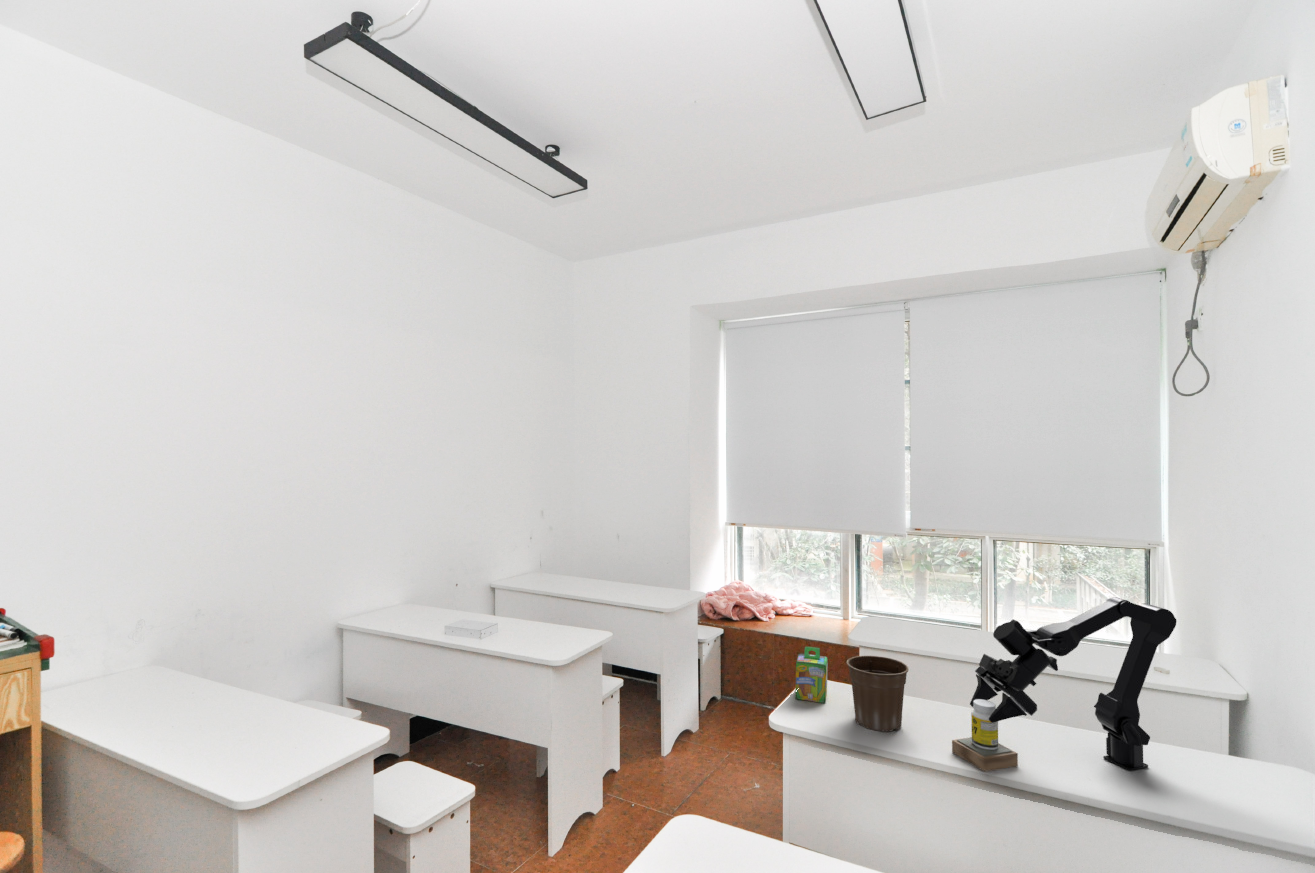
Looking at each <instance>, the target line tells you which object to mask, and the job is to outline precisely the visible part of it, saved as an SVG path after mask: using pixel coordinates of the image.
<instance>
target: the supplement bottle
mask: <svg viewBox="0 0 1315 873" xmlns="http://www.w3.org/2000/svg"><path fill="white" fill-rule="evenodd" d="M996 705H997V704H995V703H994V702H993V701H990V700H983V699H976V700H974V701H973V707H972V708H973V709H972V711H971V715H970V716H971V737H972V743H973V744H974V745H975V746H977V747H979V748H982V749H986V750H995V749H997V748H998V743H999V721H997V722H993V723H992V722H990V721H989V717H990V716H991V714H992V713H993V712H994V711H995V709H996V708H997V706H996Z"/></svg>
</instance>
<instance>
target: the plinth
mask: <svg viewBox="0 0 1315 873" xmlns="http://www.w3.org/2000/svg"><path fill="white" fill-rule="evenodd" d="M951 747H952V748H951V753H953V754H954V755H956V756H957V757H959V756H960V757H959V758H961V759H963V760H965V761H966V762H968V763H969V764H971V765H972V766H974V767H976V768H978V769H980V770H981V771H982V772H984V773H985V772H991V771H996V770H1001V769H1002V770H1003V769H1009V768H1015V767H1019V765H1018V764H1019V762H1018V761H1019V756H1018V753H1017V752H1016V751H1014V750H1012V749H1010V747H1007V746H1005V745H1003V744H1001V743H999V742H998V748H997V749H995V750H986V749H982V748H979V747H977V746H975V745H974V744H973V743H972V736H970V737H963V738H955V739H952V740H951ZM1008 767H1009V768H1008Z"/></svg>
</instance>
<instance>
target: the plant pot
mask: <svg viewBox="0 0 1315 873" xmlns="http://www.w3.org/2000/svg"><path fill="white" fill-rule="evenodd" d="M846 665H847V667H848V672H849V678H850V679H851V680H850V682H851V689H852V691H851V692H852V698H853V699H852V700H853V708H854V718H855V722H856V723H857V725H858V726H859V725H862V726H863V727H864V728H865V729H869V730H872V731H876V732H892V731H894V730H896V731H897V730H899V729H901V728H902V724H903V723H902V721H903V710H904V709H903V707H904V697H905V696H904V694H905V686H906V683H907V673H908V672H909V666H908V665H907V664H906V663H904V662H902V661H900V660H898V659H894V658H890V657H885V656H877V655H858V656H857V655H856V656H853V657H849V658H848V659H847V660H846Z"/></svg>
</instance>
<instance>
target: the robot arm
mask: <svg viewBox="0 0 1315 873" xmlns="http://www.w3.org/2000/svg"><path fill="white" fill-rule="evenodd" d="M1123 618H1130V621H1129V622H1130V628H1131V634H1132V638H1131V640H1130V644H1129V646H1128V648H1127V651H1126V653H1125V656H1124V658H1123V662H1122V665H1121V667H1120V670H1119V672H1118V676H1117V678H1116V680H1115V683H1114V686H1113V688H1112V690H1111V691H1109V692H1108V693H1107V694H1105V693H1103V692H1100V693H1099V694H1098V697H1097V698H1098V699H1097V701H1096V703H1095V704H1094V706H1093V708H1094V709H1095V712H1094V714H1095V715H1094V716H1095V717H1096V719H1097V721H1098V722H1099V723H1100V725H1101V726H1102V729H1103V730H1104V731H1106V732H1107V737H1106V738H1105V741H1106V742H1105V743H1106V746H1105V747H1106V749H1105V750H1106V751H1105V752H1106V755H1104V756H1102V757H1103V759H1104V760H1106V761H1108V762H1110V763H1113V764H1115V765H1116V766H1119V767H1120V768H1123V769H1126V771H1127V770H1128V771H1135V770H1141V769H1147V768H1149V764H1147V763H1145V762H1144V746H1148V745H1149V742H1150V740H1151V736H1150V735H1149V734H1148V733H1147V732H1146V731H1145V730H1144V728H1142V726H1140V725H1139V723H1140V718H1141V713H1140V708H1139V703H1138V701H1139V700H1138V699H1139V697H1140V695H1141V692H1142V689H1143V686H1144V683H1145V681H1146V678H1147V675H1148V673H1149V671H1150V667H1151V665H1152V662H1153V659H1154V657H1155V654H1156V650H1157V648H1159V647H1158V646H1159V645H1160V644H1162V643H1164V642H1165V641H1166V640H1167V639H1169V638H1170V637H1171V635H1172V634H1173V631H1174V630H1175V628H1176V626H1177V618H1176V617H1175V615H1174V613H1173V612H1172V611H1170V610H1169V609H1166V608H1164V607H1160V606H1157V605H1153V604H1148V603H1144V602H1143V603H1139V604H1136V603H1133V602H1131V601H1129V600H1126V599H1123V598H1120V597H1117V596H1113V597H1109V598H1107V600H1106V601H1104V602H1102V603H1100V604H1098V605H1097V606H1094V607H1093V608H1092V607H1091V609H1088V610H1087V611H1085V612H1083V613H1081V614H1079V615H1077V616H1074V617H1072V618H1071V619H1069V620H1066V621H1063V622H1054V623H1050V624H1046V625H1042V626H1040V627H1039V628H1037V629H1036V630H1031V631H1027V630H1026V629H1025V628H1024V627H1023V625H1022V624H1021V622H1019V621H1017V620H1015V619H1013V618H1012V619H1011V620H1010V621H1008V622H1004V623H1002V624H1001V625H998V626H997V627H995V630H994V631H993V633H992V634H993V637H994V639H995V640H996V641H997V642H998V643H999V644H1000V645H1001V646H1002V647H1004V649H1005V650H1006V651H1007V652H1008V653H1009V654H1010V655H1012V656H1017V657H1015V659H1013V660H1012V661H1011V660H1009V659H1007V660H1004V659H1002V658H1000V659H997V658H994V657H992V656H989V655H988V654H985V653H983V654H982V657H981V659H980V662H979V664H978V667H977V668H976V669H975V670H974V672H975V673H976V674H975V677H976V679H977V686H976V688H975V691H974V693H973V695H972V698H971V700H970V702H969V705H970V706H971V707H972V708H973V701H974V700H976V699H983V700H988V701H990V699H993V698H995V697H996V696H998V695H999V694H998V693H999V692H1001V694H1002V696H1001V702H1000V703H999V705H997V706H996V709H995V711H994V712H993V713H992V714H991V716H990V717H989V721H990V722H992V723H993V722H997V721H998V722H1000V721H1003V720H1008V719H1011V718H1016V717H1021V716H1024V717H1026V716H1034V714H1035V713H1036V712H1037V711H1038V704H1037V703H1036V702H1035V700H1033V699H1032V698H1031V697H1030V696H1029V695H1028V694H1027V693H1026V692H1025V690H1026V689H1027V688H1028V687H1029V685H1031V686H1032V687H1035V686H1036V685H1037V684H1038V683H1037V682H1036V681H1035V680H1036V679H1037V677H1039V676H1040V674H1042V673H1043V672H1044V671H1045V670H1046V669H1047V667H1048V668H1050V669H1052V670H1054V671H1055V672H1057V671H1058V670H1059V666H1058V659H1057V658H1055V657H1053V656H1049V655H1048V654H1047V653H1046V652H1048V653H1050V654H1052V655H1055V656H1058V657H1065V656H1067V655H1069V654H1070V653H1071V652H1073V651H1074V650H1075V649H1076V648H1077V647H1078V646H1079V644H1080V643H1081V641H1082V640H1084V639H1085V638H1086V637H1088V636H1091V635H1092V634H1094V633H1097V632H1098V631H1100V630H1101V629H1105V628H1106V627H1107V626H1110V625H1111V624H1114V623H1116V622H1117V621H1119V620H1122V619H1123ZM1034 645H1035V646H1037V647H1039V648H1037V647H1035V646H1034ZM1044 650H1045V651H1044Z"/></svg>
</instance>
